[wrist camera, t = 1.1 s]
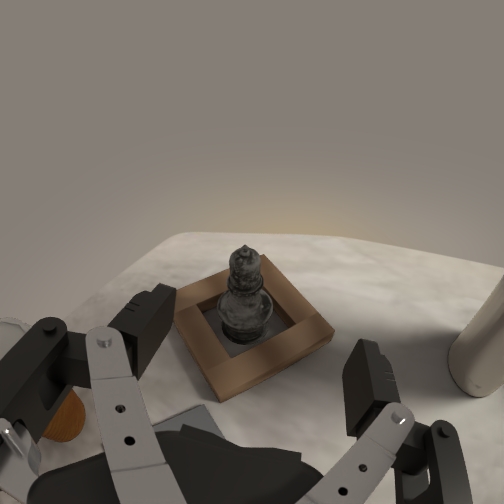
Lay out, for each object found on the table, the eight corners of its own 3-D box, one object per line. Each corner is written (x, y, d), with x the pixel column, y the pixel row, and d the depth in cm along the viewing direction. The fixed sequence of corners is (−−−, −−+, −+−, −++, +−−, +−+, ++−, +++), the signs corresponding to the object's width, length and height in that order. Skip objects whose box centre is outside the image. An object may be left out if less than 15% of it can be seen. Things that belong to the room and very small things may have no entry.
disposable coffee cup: (116, 412, 26) (60, 355, 18) (64, 473, 20) (-14, 439, 12) (62, 362, 29) (9, 296, 21) (15, 415, 23) (-52, 361, 15)
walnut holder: (263, 265, 42) (263, 254, 41) (331, 340, 33) (334, 330, 32) (165, 306, 36) (162, 295, 35) (220, 403, 28) (218, 396, 26)
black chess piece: (208, 323, 35) (196, 244, 27) (245, 296, 38) (246, 216, 30) (243, 356, 32) (243, 281, 24) (281, 325, 35) (293, 246, 27)
